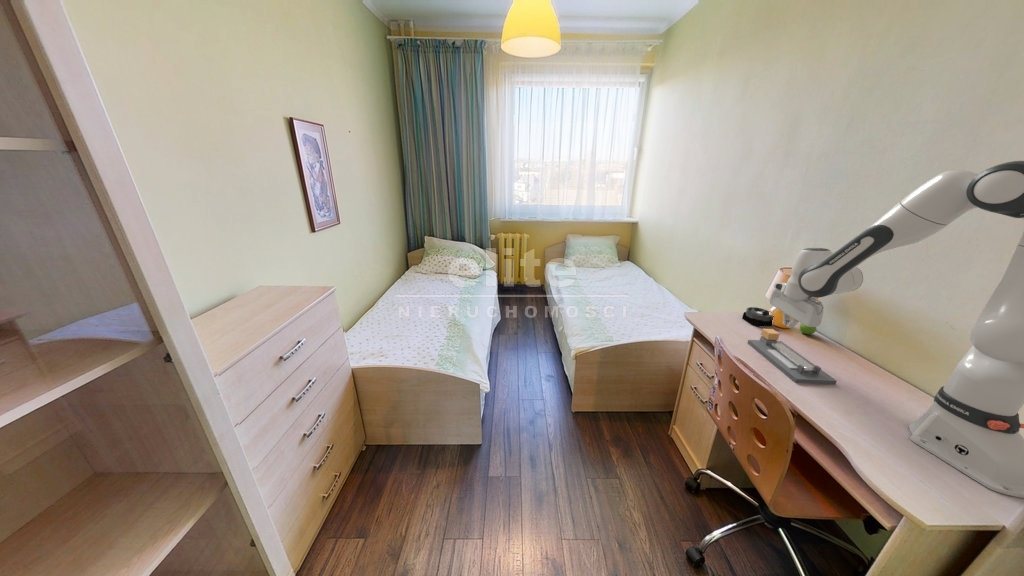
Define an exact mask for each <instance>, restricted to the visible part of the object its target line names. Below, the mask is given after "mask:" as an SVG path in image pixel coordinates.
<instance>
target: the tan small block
mask: <svg viewBox="0 0 1024 576" xmlns="http://www.w3.org/2000/svg"><path fill="white" fill-rule="evenodd" d="M780 334H781V333H779V332H778V331H777V330H775V329H774V328H762V330H761V333H760V336H763V337H764V338H766V339H767V340H777V341H779V337H780Z"/></svg>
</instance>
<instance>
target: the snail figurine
mask: <svg viewBox="0 0 1024 576" xmlns="http://www.w3.org/2000/svg"><path fill="white" fill-rule="evenodd" d="M799 330H800V332H801V333H803V334H804V335H812V334H815V332H816V331H817V327H808V326H806V325H804V324H802V323H801V324H800V325H799Z"/></svg>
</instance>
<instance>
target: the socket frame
mask: <svg viewBox="0 0 1024 576" xmlns="http://www.w3.org/2000/svg"><path fill="white" fill-rule="evenodd" d="M772 343H780V344H783V345H784V346H785V347H787V348H788V349H789V350H791V351H792V352H793V353H795V354H796V355H797V356H799V357H800V358H801V359H803V360H804V361H805V362H807V363H808V364H809V365H811V366H812V367H815V368H816V371H804V368H805V367H803V366H802V365H796V364H795V363H794V362H793V361H791V360H790V359H789V358H787V357H786V356H785V355H784V354H782V353H781V352H780V351H779V350H777V349H776V348H775V347H773V346H772ZM747 344H748V345H749V346H751V347H752V348H753V349H754V350H755V351H756V352H757V353H758V354H760V355H761V356H762V357H764V358H765V359H766V360H767V361H768V362H770V363H771V364H772V365H773V366H774V367H775V368H777V369H778V370H779V371H780V372H781V373H783V374H784V375H785V376H786V377H788V379H790V380H791V381H792V382H794V383H796V384H813V385H814V384H817V385H818V384H819V385H836V384H837V383H838V380H837V379H835V378H834V377H832V376H831V375H830V374H828V373H827V372H825V371H824V370H823V369H822V367H820V366H819V365H815V364H814V363H813V362H811V361H810V360H809V359H808V358H806V357H804V356H803V355H802V354H801V353H799V352H797V351H796V350H794V349H793V348H792V347H790V346H789V345H787V344H786V343H785V342H784V341H782V340H767V339H766V338H764V337H763V336H762V335H760V338H759V339H747Z"/></svg>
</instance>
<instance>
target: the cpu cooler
mask: <svg viewBox="0 0 1024 576" xmlns="http://www.w3.org/2000/svg"><path fill="white" fill-rule="evenodd" d="M769 312H771V311H770V310H767V309H766V308H765V309H764V308H761V307H755V306H750V307H746V310H745V311H743V314H742V318H741V319H742V320H743V321H745V322H746V323H748V324H750V325H752V326H753V327H759V328H760V326H765V327H773V325H772V320H773V317H774V318H775V316H773V315H774V314H773V315H769Z"/></svg>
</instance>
